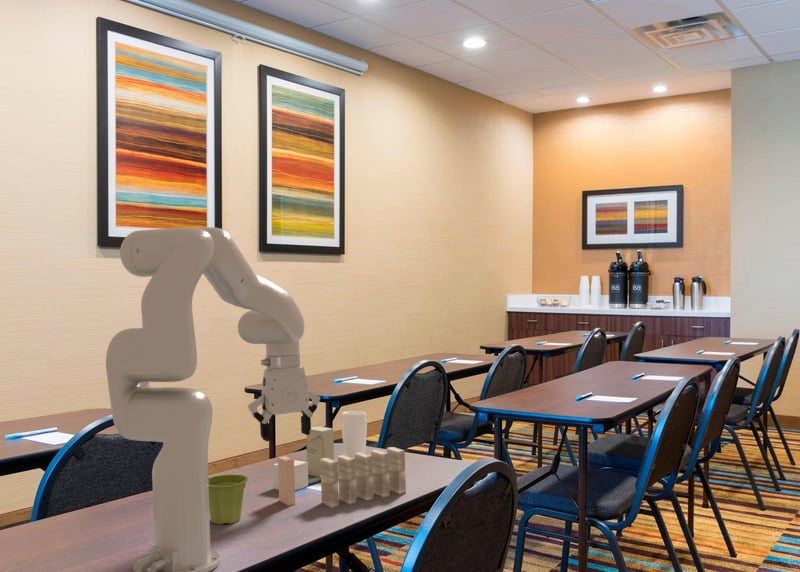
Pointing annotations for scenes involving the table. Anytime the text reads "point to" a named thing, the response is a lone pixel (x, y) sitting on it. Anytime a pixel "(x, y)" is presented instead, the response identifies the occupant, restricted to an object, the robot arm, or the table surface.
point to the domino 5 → (380, 473)
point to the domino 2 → (329, 482)
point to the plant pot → (226, 497)
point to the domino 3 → (347, 479)
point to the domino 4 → (364, 476)
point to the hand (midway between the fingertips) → (286, 437)
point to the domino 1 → (286, 480)
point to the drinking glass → (354, 432)
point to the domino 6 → (397, 470)
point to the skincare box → (319, 448)
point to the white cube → (299, 473)
